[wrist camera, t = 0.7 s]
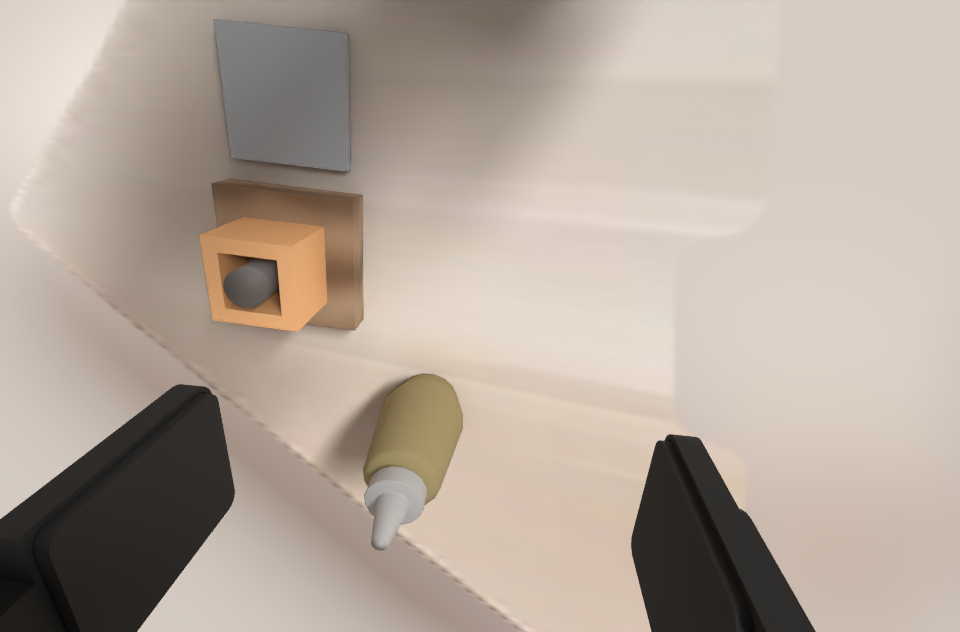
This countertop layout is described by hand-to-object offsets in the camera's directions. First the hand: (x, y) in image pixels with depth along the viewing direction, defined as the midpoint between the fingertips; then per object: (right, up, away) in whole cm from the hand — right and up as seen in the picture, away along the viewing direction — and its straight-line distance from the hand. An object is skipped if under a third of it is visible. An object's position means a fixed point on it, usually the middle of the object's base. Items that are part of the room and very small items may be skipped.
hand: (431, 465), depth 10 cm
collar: (-16, +8, +31) cm, 36 cm away
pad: (-14, +21, +28) cm, 38 cm away
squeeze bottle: (-4, -5, +39) cm, 40 cm away
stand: (-16, +9, +34) cm, 38 cm away
